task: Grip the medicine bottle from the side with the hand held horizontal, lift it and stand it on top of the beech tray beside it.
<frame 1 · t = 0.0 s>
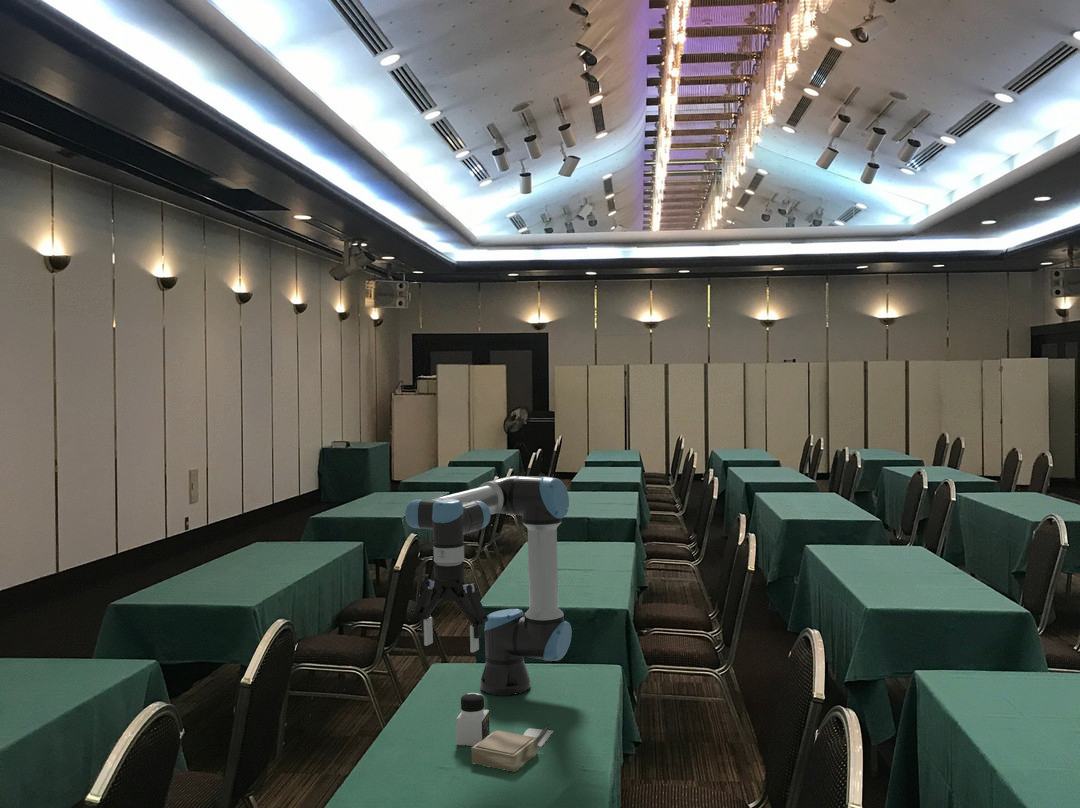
hand: (451, 647, 226), 28 cm above the table, tool pointing down, fingers open, 13 cm apart
beech tray: (505, 758, 227), on the table
medicine bottle: (473, 741, 238), on the table
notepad: (535, 740, 239), on the table
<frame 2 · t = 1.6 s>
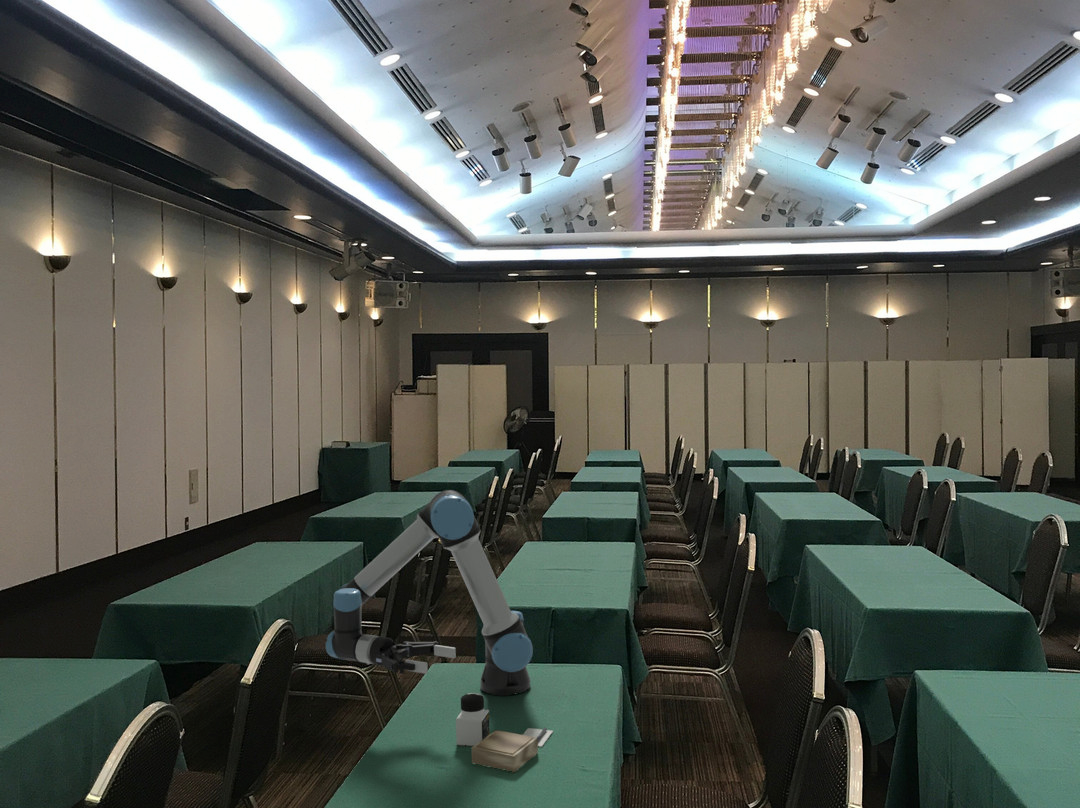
hand: (441, 660, 242), 20 cm above the table, tool horizontal, fingers open, 13 cm apart
nothing on the table moved.
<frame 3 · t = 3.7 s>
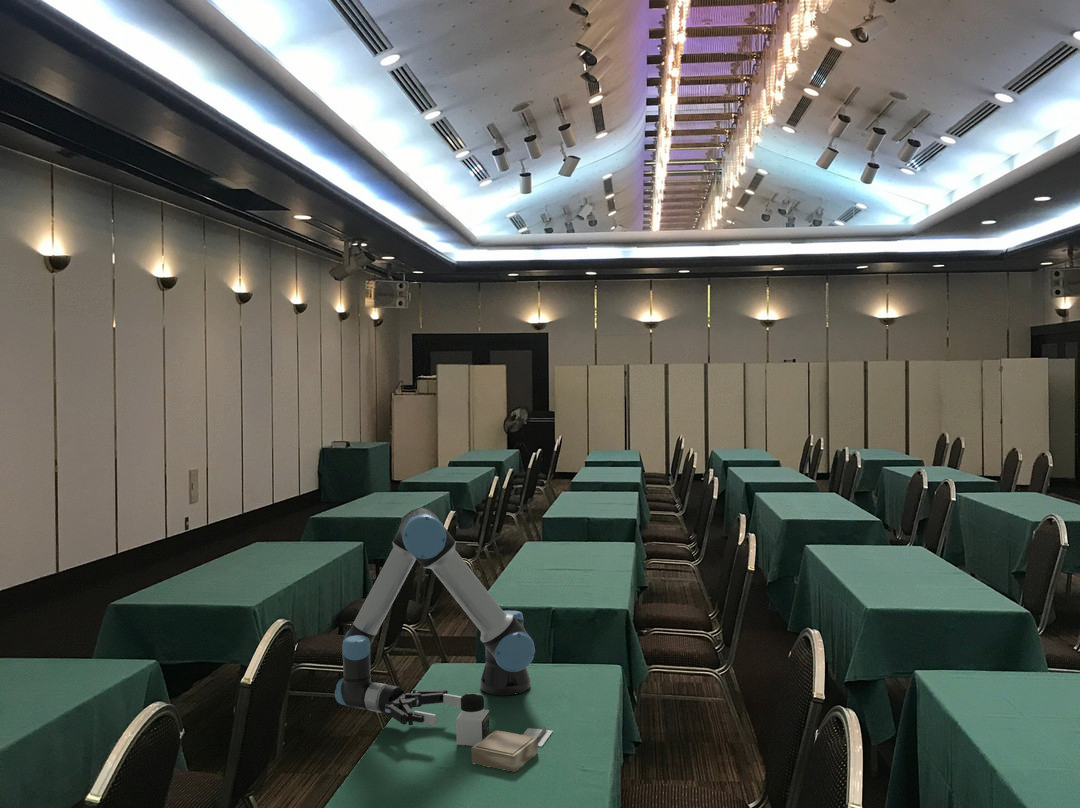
hand: (450, 711, 240), 7 cm above the table, tool horizontal, fingers open, 13 cm apart
nothing on the table moved.
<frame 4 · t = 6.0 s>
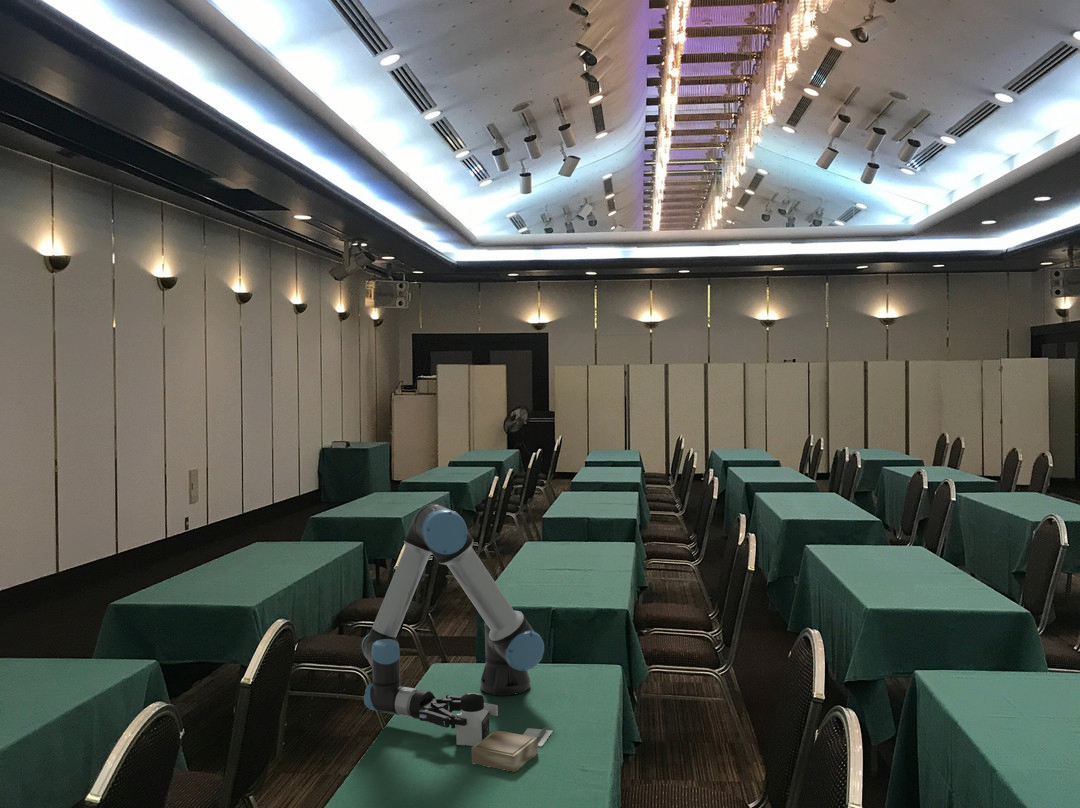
hand: (488, 716, 236), 7 cm above the table, tool horizontal, fingers closed on medicine bottle, 8 cm apart
medicine bottle: (473, 741, 238), on the table, touching gripper
everything else where it was.
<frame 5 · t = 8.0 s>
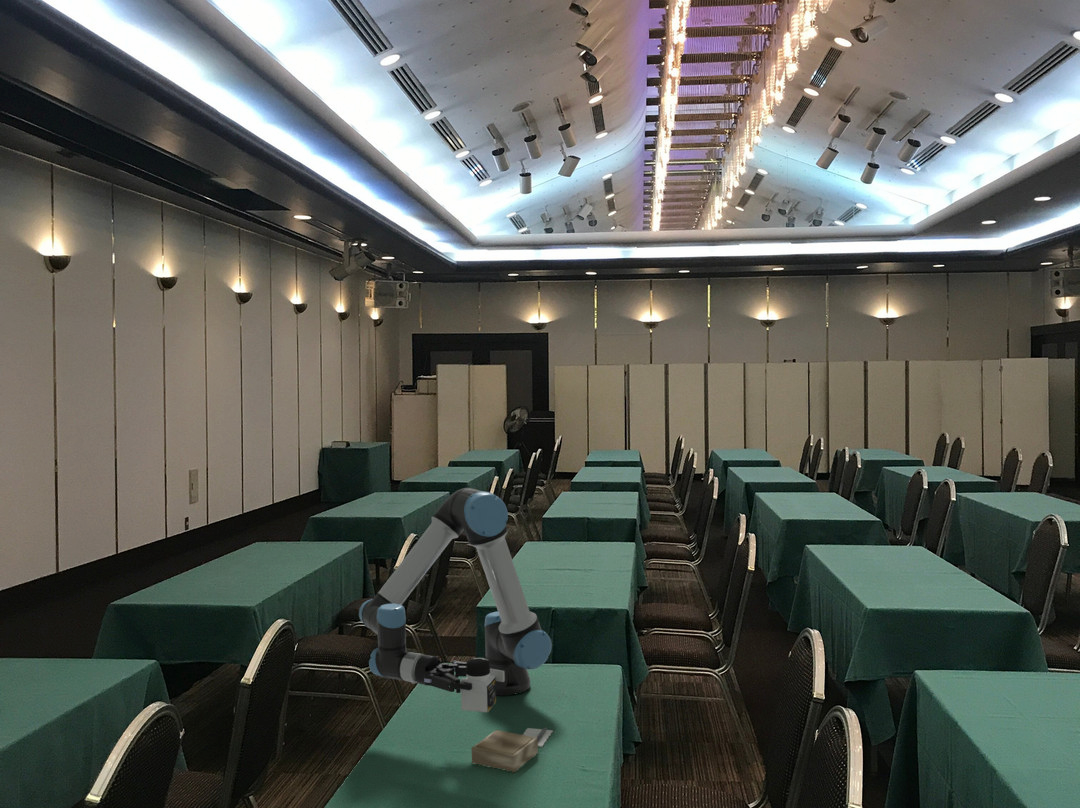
hand: (494, 682, 230), 18 cm above the table, tool horizontal, fingers closed on medicine bottle, 8 cm apart
medicine bottle: (478, 707, 232), point 11 cm above the table, touching gripper
everything else where it was.
when the fingers open (12 cm above the table, at t = 9.9 s): medicine bottle drops 1 cm, resting on beech tray.
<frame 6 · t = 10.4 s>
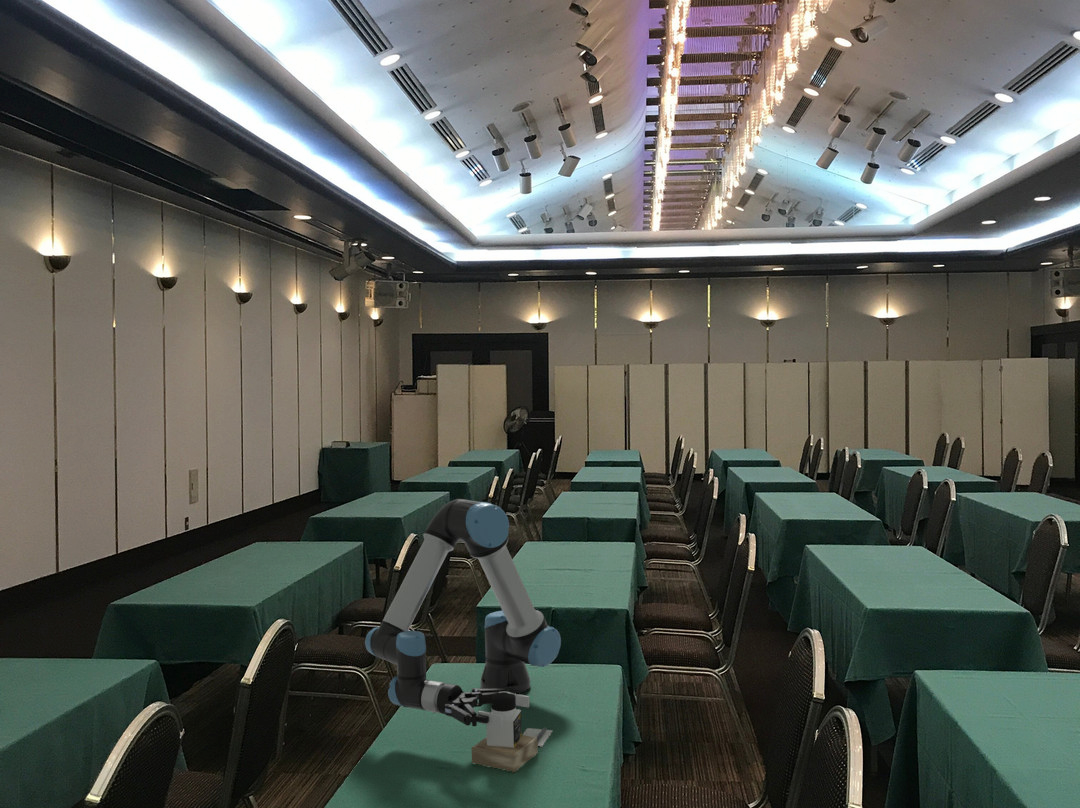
hand: (515, 711, 225), 12 cm above the table, tool horizontal, fingers open, 13 cm apart
medicine bottle: (504, 742, 227), point 4 cm above the table, touching beech tray
everything else where it was.
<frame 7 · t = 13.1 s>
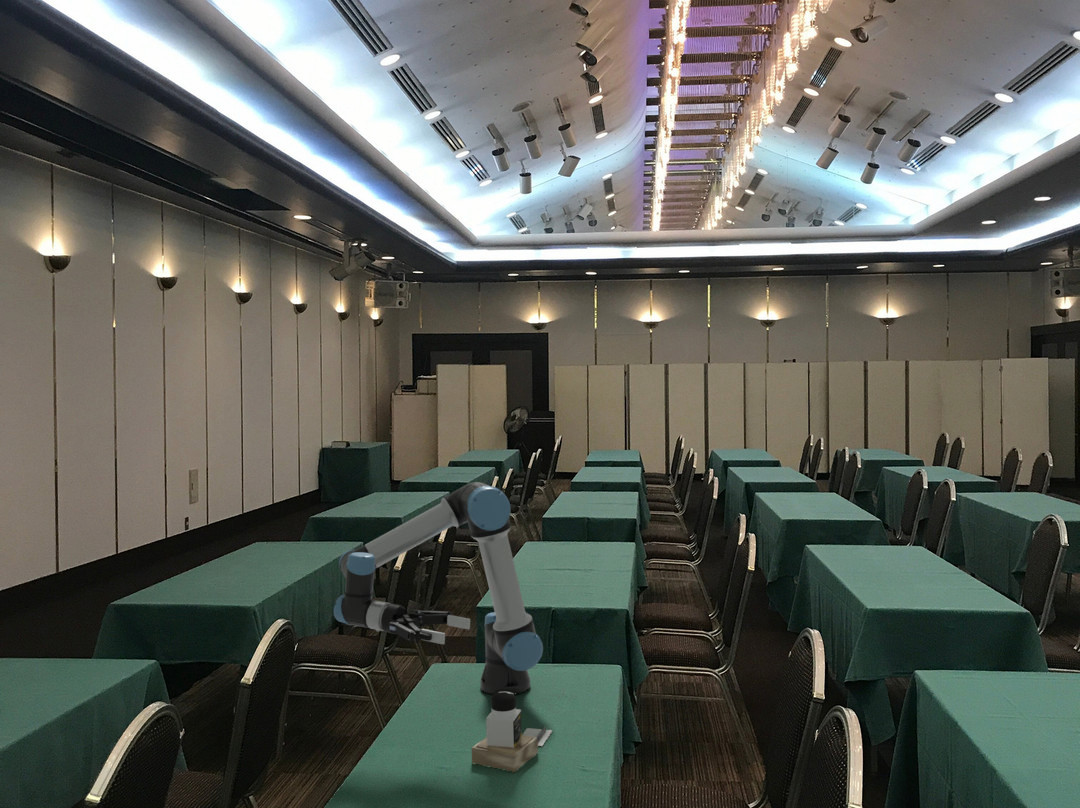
hand: (457, 631, 236), 29 cm above the table, tool horizontal, fingers open, 13 cm apart
nothing on the table moved.
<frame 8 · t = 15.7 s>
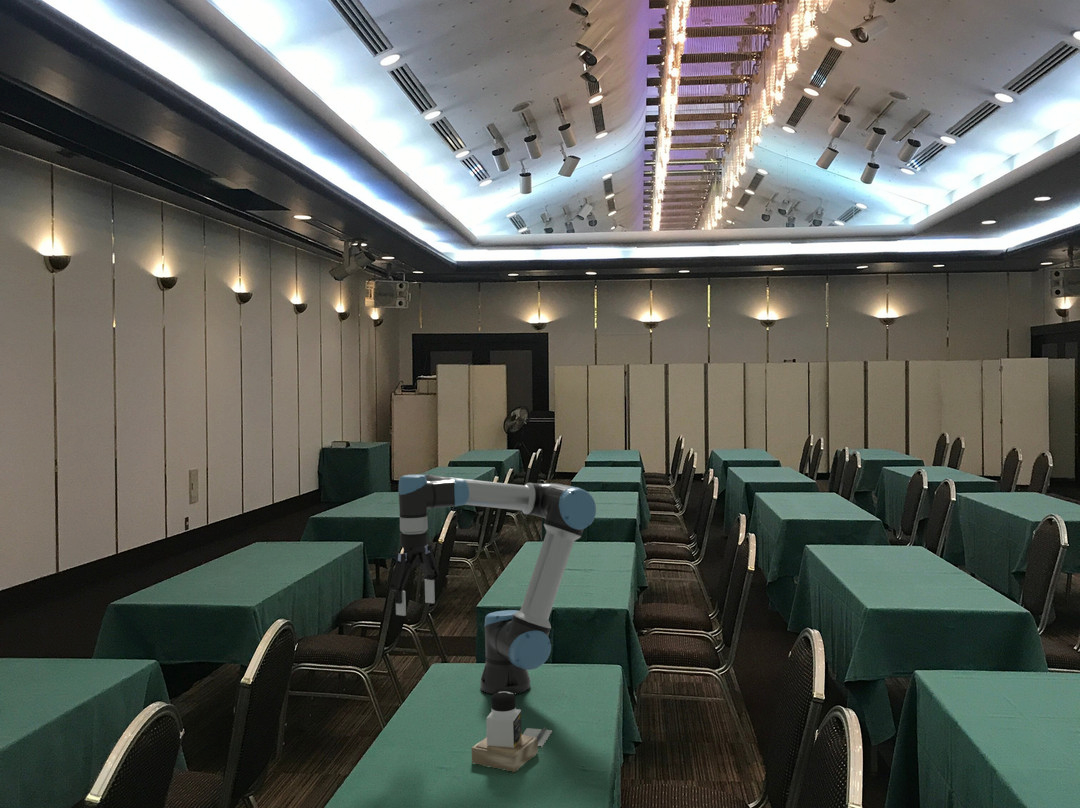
hand: (415, 608, 250), 32 cm above the table, tool pointing down, fingers open, 13 cm apart
nothing on the table moved.
at the end: medicine bottle inside the target area on the beech tray (0.1 cm from its centre), point 4.1 cm above the beech tray's base; medicine bottle tilted 0°; the gripper is holding nothing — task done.
